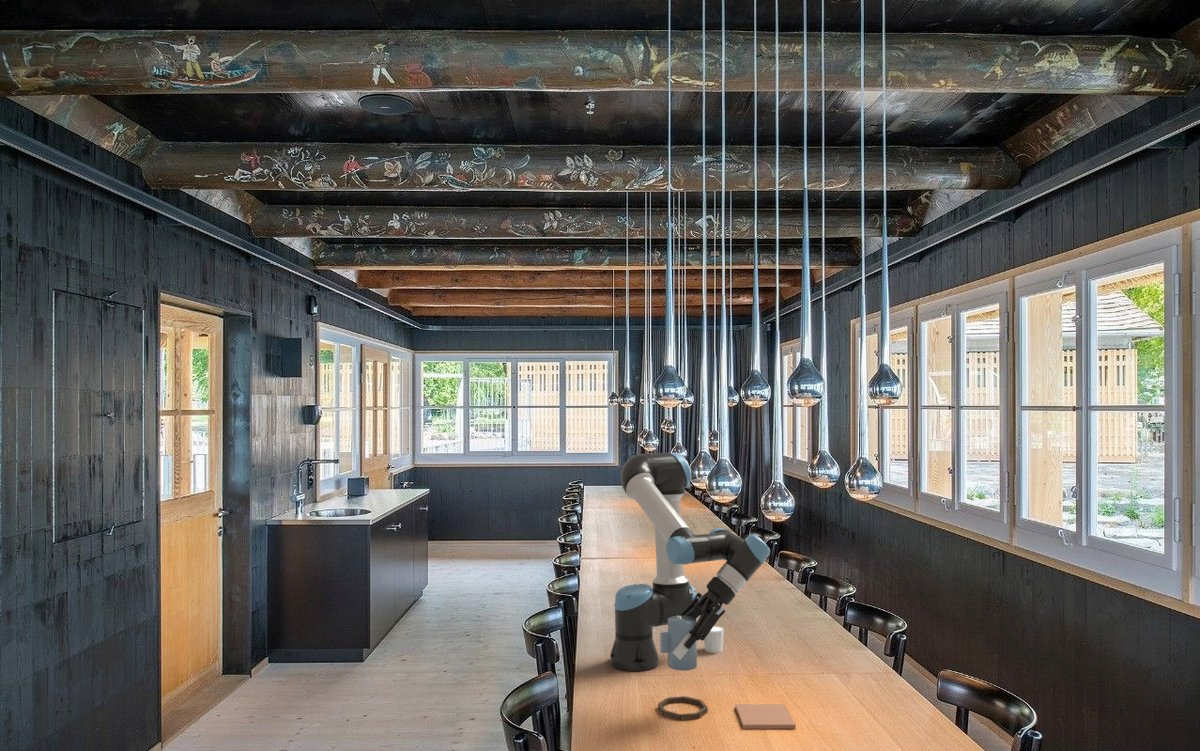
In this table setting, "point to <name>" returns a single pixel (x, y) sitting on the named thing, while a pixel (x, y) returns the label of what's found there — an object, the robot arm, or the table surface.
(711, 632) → the white tapered cylinder
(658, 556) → the robot arm
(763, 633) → the table surface
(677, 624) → the grey canister
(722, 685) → the table surface
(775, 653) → the table surface
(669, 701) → the walnut collar
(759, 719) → the terracotta tile
